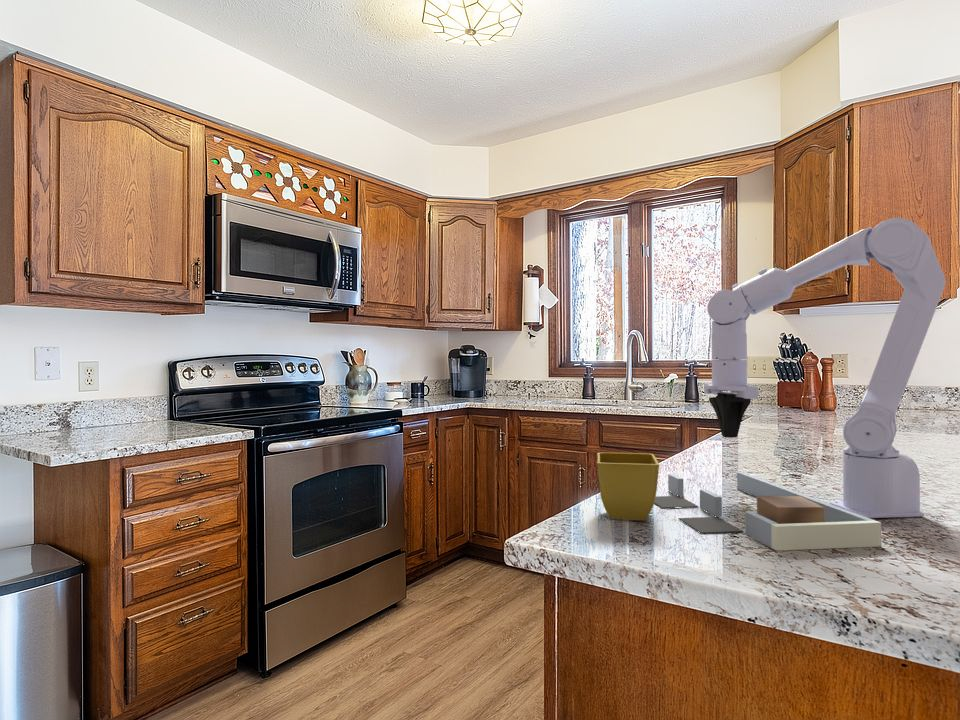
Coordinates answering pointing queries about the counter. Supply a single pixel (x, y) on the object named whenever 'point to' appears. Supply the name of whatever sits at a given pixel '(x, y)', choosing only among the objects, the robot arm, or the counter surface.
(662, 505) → the mat
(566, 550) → the counter surface
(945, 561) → the counter surface
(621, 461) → the flower pot
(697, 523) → the mat
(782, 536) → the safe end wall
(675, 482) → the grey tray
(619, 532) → the counter surface
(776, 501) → the walnut block
